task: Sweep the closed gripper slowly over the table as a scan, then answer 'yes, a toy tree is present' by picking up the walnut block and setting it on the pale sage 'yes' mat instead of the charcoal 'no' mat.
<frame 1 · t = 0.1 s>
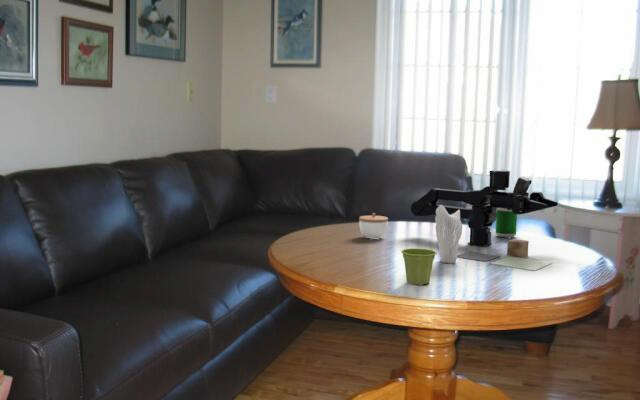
hand: (552, 205, 218), 17 cm above the table, tool horizontal, fingers open, 9 cm apart
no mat: (476, 256, 215), on the table
plant pot: (417, 283, 180), on the table
lidded jar: (373, 238, 246), on the table
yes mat: (521, 263, 206), on the table
shell sculpture: (447, 262, 206), on the table
soda can: (505, 237, 253), on the table
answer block: (517, 255, 218), on the table
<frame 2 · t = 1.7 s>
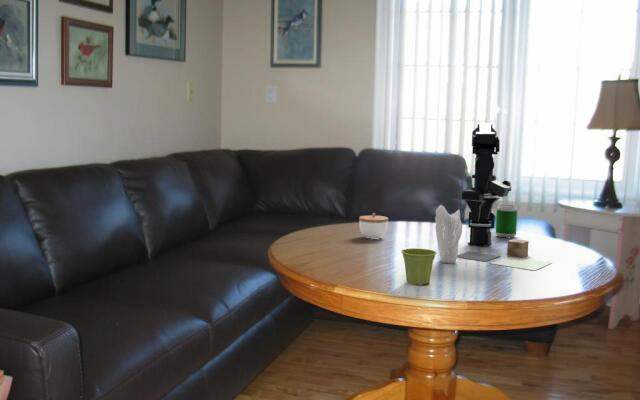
hand: (481, 220, 213), 12 cm above the table, tool pointing down, fingers open, 6 cm apart
nothing on the table moved.
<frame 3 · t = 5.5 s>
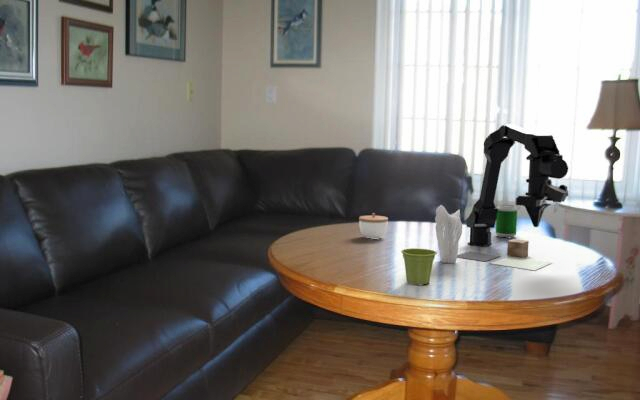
hand: (535, 226, 202), 12 cm above the table, tool pointing down, fingers closed
nothing on the table moved.
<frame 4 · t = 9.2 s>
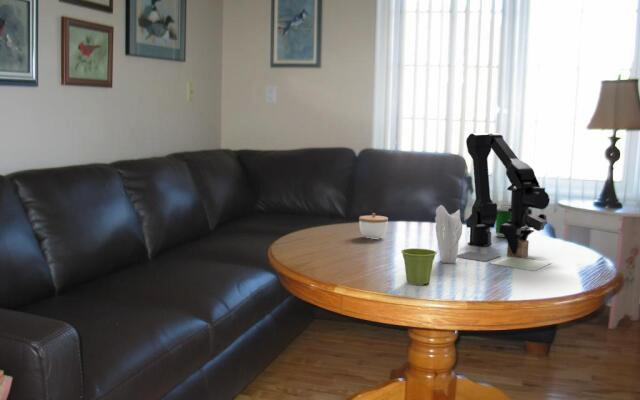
hand: (517, 252, 218), 1 cm above the table, tool pointing down, fingers closed on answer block, 5 cm apart
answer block: (517, 255, 218), on the table, touching gripper
everything else where it was.
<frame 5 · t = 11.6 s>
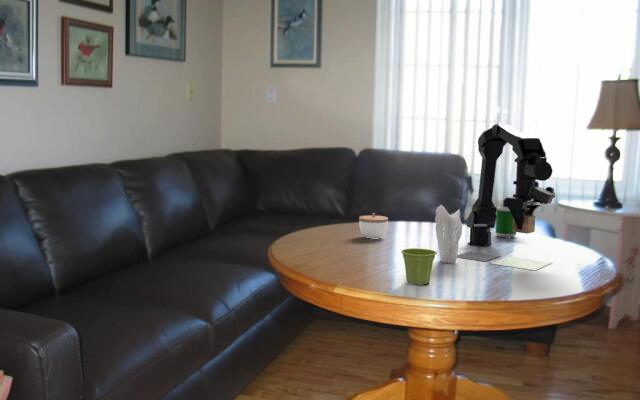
hand: (523, 228, 204), 11 cm above the table, tool pointing down, fingers closed on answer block, 5 cm apart
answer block: (523, 231, 204), point 10 cm above the table, touching gripper
everything else where it was.
when the fingers open (2 cm above the table, at t = 13.9 s): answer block drops 1 cm, resting on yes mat.
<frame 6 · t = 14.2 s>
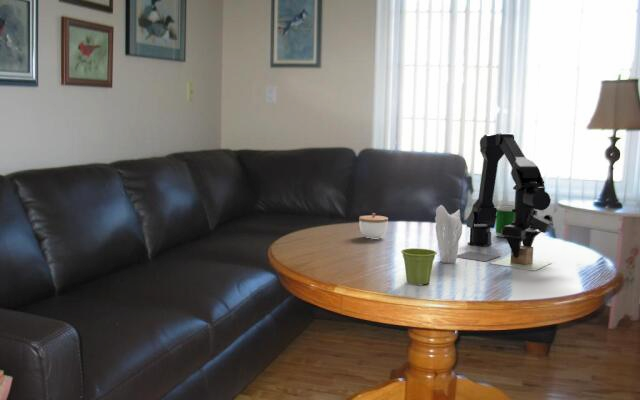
hand: (521, 255, 205), 2 cm above the table, tool pointing down, fingers open, 8 cm apart
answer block: (521, 262, 206), resting on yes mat
everything else where it was.
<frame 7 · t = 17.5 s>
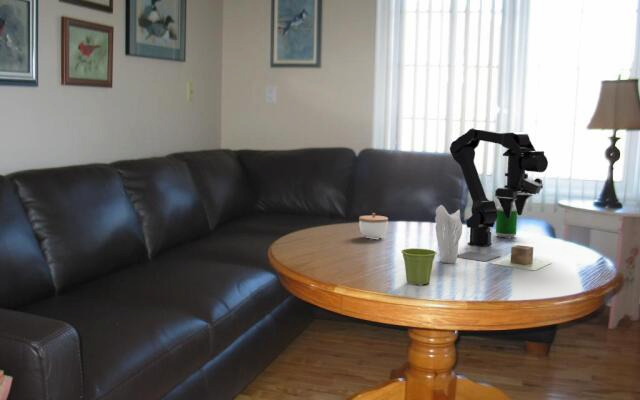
hand: (514, 216, 223), 12 cm above the table, tool pointing down, fingers open, 9 cm apart
nothing on the table moved.
at the end: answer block inside the target area on the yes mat (0.0 cm from its centre), point 0.2 cm above the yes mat's base; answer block tilted 0°; the gripper is holding nothing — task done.
